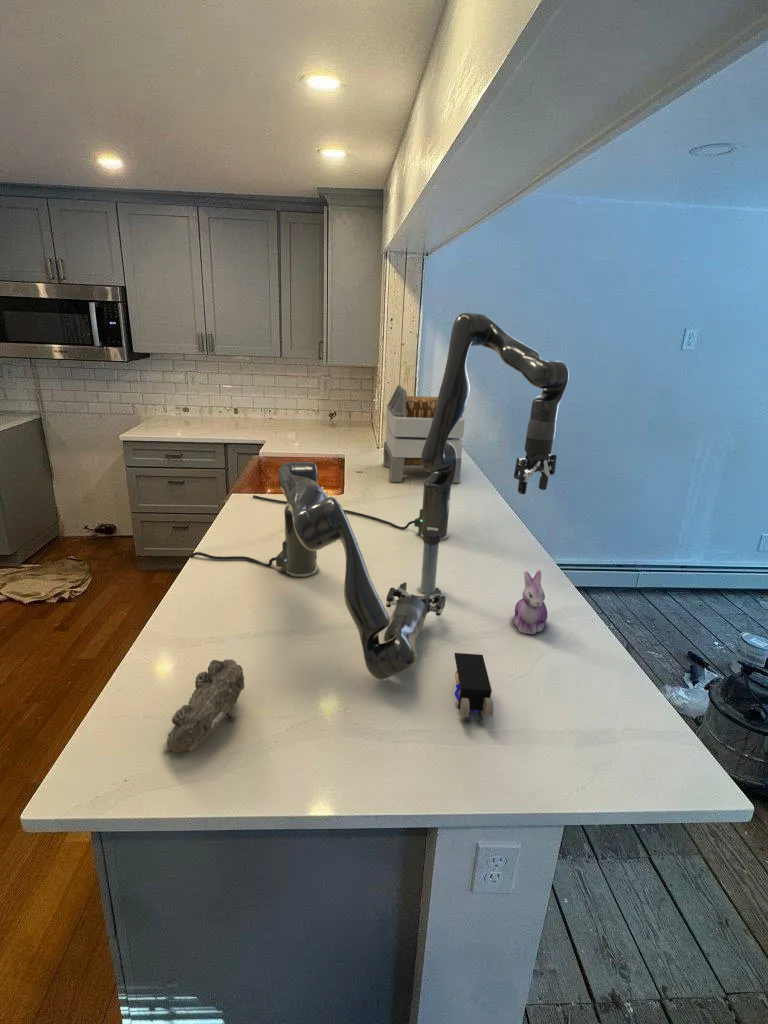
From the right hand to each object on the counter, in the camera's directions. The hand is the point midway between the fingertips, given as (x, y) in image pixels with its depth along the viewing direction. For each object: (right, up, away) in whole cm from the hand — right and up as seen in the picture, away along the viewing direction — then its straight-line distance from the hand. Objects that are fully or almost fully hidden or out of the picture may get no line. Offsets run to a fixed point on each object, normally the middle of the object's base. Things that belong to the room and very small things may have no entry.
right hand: (532, 491), depth 162 cm
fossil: (-75, -45, -54) cm, 103 cm away
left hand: (-33, -26, -14) cm, 44 cm away
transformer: (-25, +13, +113) cm, 117 cm away
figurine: (-5, -35, -17) cm, 39 cm away
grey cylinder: (-30, -28, -1) cm, 41 cm away
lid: (-29, -12, -7) cm, 32 cm away
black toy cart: (-25, -45, -47) cm, 69 cm away
